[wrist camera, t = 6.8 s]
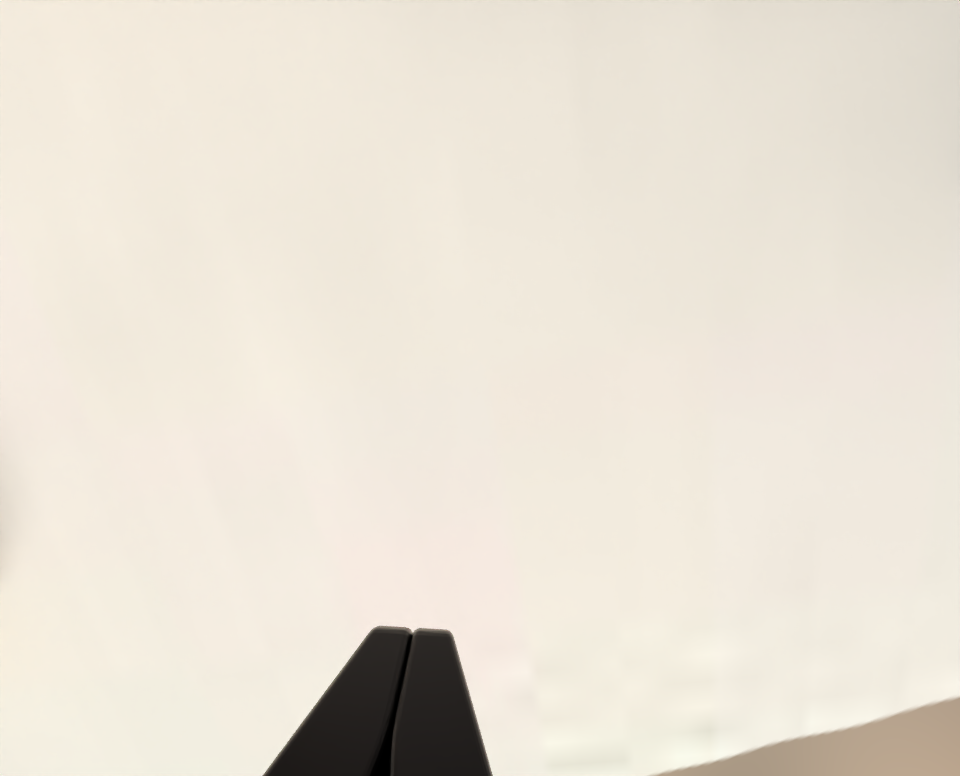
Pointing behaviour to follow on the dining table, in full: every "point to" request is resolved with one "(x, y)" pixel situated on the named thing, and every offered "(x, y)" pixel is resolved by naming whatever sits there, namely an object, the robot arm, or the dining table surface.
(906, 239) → the dining table surface
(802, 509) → the dining table surface
